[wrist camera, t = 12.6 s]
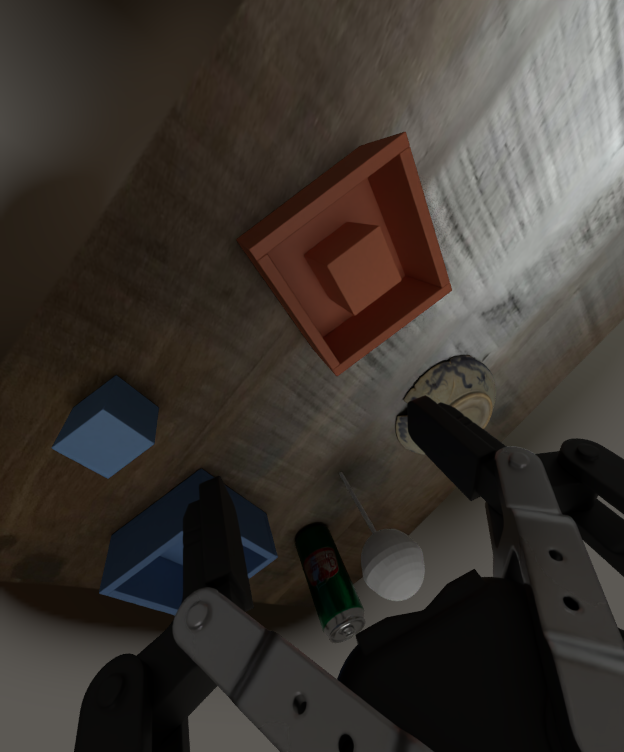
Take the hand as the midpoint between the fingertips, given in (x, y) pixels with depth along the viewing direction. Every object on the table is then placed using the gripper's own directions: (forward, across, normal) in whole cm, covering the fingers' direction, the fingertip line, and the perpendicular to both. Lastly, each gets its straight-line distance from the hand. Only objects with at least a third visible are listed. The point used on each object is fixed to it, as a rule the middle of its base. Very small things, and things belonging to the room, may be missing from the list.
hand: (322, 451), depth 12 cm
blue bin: (+17, +12, +21) cm, 30 cm away
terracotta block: (+16, -8, -3) cm, 18 cm away
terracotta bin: (+17, -8, -3) cm, 19 cm away
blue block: (+17, +12, +4) cm, 22 cm away
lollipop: (+17, -6, +23) cm, 29 cm away
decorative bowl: (+17, -21, +19) cm, 33 cm away
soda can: (+17, 0, +33) cm, 37 cm away
